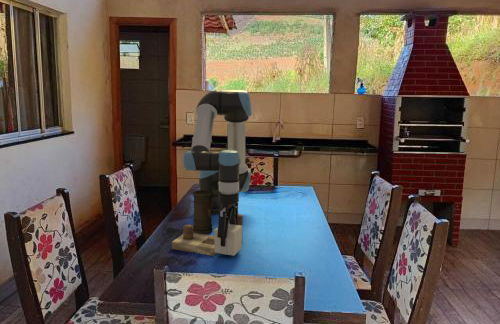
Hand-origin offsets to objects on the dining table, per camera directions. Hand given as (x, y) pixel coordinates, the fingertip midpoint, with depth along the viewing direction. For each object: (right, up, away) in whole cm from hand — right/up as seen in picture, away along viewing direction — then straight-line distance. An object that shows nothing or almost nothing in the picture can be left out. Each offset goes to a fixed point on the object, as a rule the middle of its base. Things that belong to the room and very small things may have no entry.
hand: (228, 249), depth 150 cm
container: (-13, +2, +26) cm, 29 cm away
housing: (0, 0, 0) cm, 0 cm away
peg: (+3, 0, +12) cm, 12 cm away
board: (-12, -1, +8) cm, 15 cm away
